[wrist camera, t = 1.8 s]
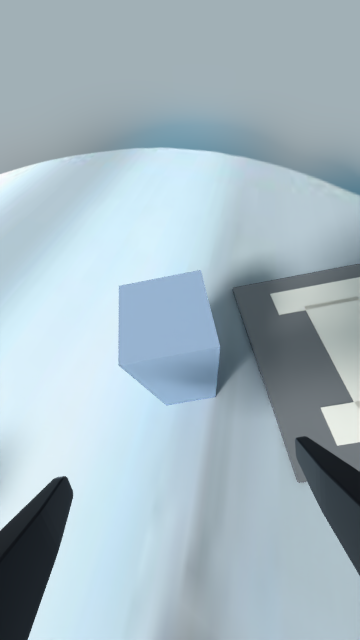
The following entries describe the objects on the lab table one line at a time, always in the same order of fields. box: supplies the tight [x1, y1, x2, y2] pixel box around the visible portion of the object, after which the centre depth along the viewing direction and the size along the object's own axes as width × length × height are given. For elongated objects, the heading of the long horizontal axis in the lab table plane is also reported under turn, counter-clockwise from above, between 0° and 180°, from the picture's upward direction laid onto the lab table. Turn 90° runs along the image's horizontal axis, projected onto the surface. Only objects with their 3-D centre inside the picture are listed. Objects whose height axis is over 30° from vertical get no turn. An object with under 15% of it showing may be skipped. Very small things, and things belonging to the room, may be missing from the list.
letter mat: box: [233, 264, 360, 483], centre depth 22 cm, size 20×20×1 cm
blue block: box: [119, 270, 220, 405], centre depth 17 cm, size 5×5×13 cm
